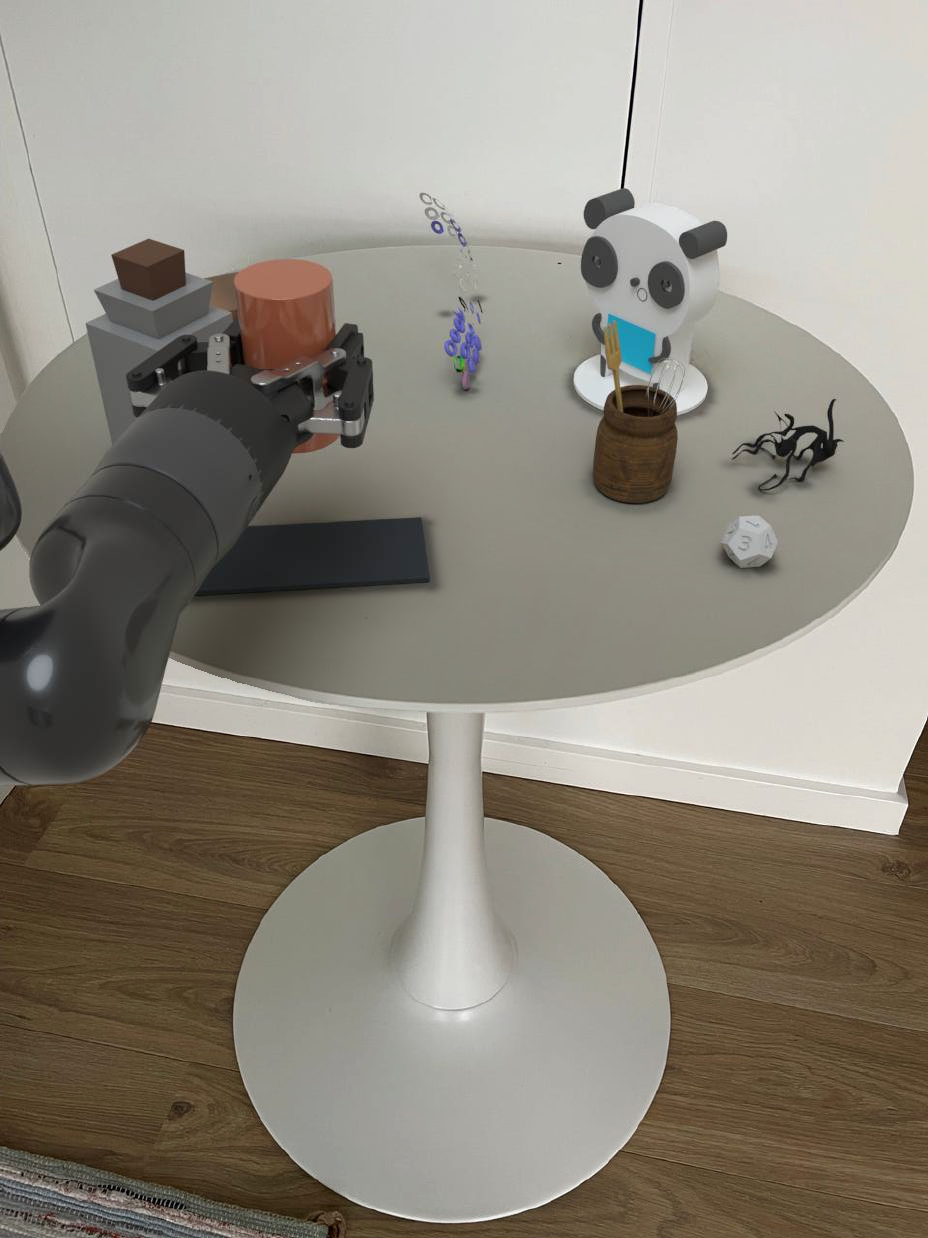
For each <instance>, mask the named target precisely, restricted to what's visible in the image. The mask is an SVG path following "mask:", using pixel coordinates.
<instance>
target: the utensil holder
mask: <svg viewBox="0 0 928 1238" xmlns="http://www.w3.org/2000/svg"><path fill="white" fill-rule="evenodd" d="M603 330H604V340H605V350H606V360H607V367H608V369H610V370H612V371H613V376H614V384H615V390H613V391H612V392H611V393H610V394H609V395H608V396H607V399H606V402H605V405H604V411H603V410H602V411H603V416H602V418H601V419H600V421H599V423H598V425H597V431H596V435H595V444H594V454H593V461H592V462H593V463H592V477H593V479H592V480H593V483H594V485H595V487H596V488H597V490H598V491H599V492H600V493H601V494H603V495H604V496H606V497H608V498H610V499H611V500H614V501H617V502H622V503H628V504H644V503H650V502H652V501H655V500H657V499H659V498H661V497H662V496H664V495H665V494H666V492H667V491H668V490H669V488H670V486H671V482H672V479H673V473H674V468H675V461H676V456H677V455H676V454H677V450H678V449H677V447H678V439H679V438H678V437H679V436H678V435H679V434H678V428H677V425H676V421H677V418H678V416H677V405H676V400H674V398H675V397H676V396H675V397H674V398H673V397H672V396H671V395H670V393H669V394H668V391H669V389H670V387H669V389H668V391H667V392H665V391H663V390H661V389H658V387H659V385H657V388H655V387H651V386H649V385H648V386H645V385H629V386H623V387H620V381H619V373H618V368H619V366H620V364H621V361H622V358H621V350H620V344H619V337H618V330H617V323H616V321H615V320H614V321H613V330H612V324H611V323H609V324H608V330H609V337H608V331H607V327H606V326H605V327H604V329H603ZM613 332H614V337H613ZM609 341H610V344H609ZM614 342H615V344H614ZM669 358H672V357H669ZM669 358H663V359H667V360H668V359H669ZM672 359H673V358H672ZM672 359H670V360H668V361H672V362H673V361H674V366H675V362H676V359H675V360H672ZM661 360H662V359H661ZM661 360H659V361H661ZM667 360H666V361H665V364H666V362H667ZM677 360H678V359H677ZM659 361H658V362H659ZM658 362H657V363H658ZM672 362H671V363H672ZM677 362H679V361H677ZM677 362H676V363H677ZM657 363H656V365H657ZM663 363H664V362H663ZM671 363H670V364H671ZM680 363H681V362H680ZM661 364H662V363H661ZM661 364H660V365H661ZM665 364H664V366H665ZM670 364H669V365H670ZM681 364H682V363H681ZM656 365H655V367H656ZM669 365H668V366H669ZM678 365H679V364H678V363H677V367H678ZM682 365H683V364H682ZM658 366H659V365H658ZM658 366H657V367H658ZM679 366H680V365H679ZM655 367H654V369H655ZM683 367H684V365H683ZM667 368H668V367H667ZM667 368H666V369H667ZM680 368H681V366H680ZM663 369H664V367H663ZM655 370H656V369H655ZM655 370H653V372H652V375H651V378H650V381H651V379H652V376H653V374H654V371H655ZM676 370H677V368H676ZM681 370H682V368H681ZM665 371H666V370H665ZM665 371H664V373H665ZM662 372H663V370H662ZM664 373H663V375H664ZM675 373H676V371H675ZM675 373H674V377H673V378H675ZM661 374H662V373H661ZM682 374H683V371H682ZM684 374H685V368H684ZM663 375H662V377H663ZM660 377H661V375H660ZM662 377H661V379H662ZM683 378H684V376H683ZM650 381H649V384H650ZM659 381H660V382H661V380H660V378H659ZM672 381H673V382H674V380H673V379H672ZM660 382H658V384H660ZM682 383H683V379H682V382H681V385H680V388H679V389H681V386H682ZM671 384H672V386H673V383H672V382H671ZM670 386H671V385H670ZM671 389H672V387H671ZM670 392H671V390H670ZM678 392H680V390H678ZM678 392H677V393H678ZM676 395H677V394H676ZM678 395H679V393H678ZM678 395H677V397H678ZM676 399H677V398H676Z"/></svg>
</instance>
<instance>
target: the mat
mask: <svg viewBox="0 0 928 1238" xmlns="http://www.w3.org/2000/svg"><path fill="white" fill-rule="evenodd" d="M427 557H428V556H427V551H426V543H425V536H424V529H423V521H422V517H421V516H420V517H419V516H418V517H417V516H416V517H400V518H399V517H398V518H381V519H380V518H379V519H362V520H360V519H359V520H342V521H341V520H340V521H323V522H321V521H320V522H303V523H285V524H267V525H265V524H264V525H248V526H247V528H246V529H245V531H244V532H243V534H242V535H241V536H240V538H239V539H238V541H237V542H236V544H235V545H234V546H233V547H232V549H231V550H230V551H229V552H228V553H227V554H226V555H225V556H224V557H223V558H222V559H221V560H220V561H219V562H218V563H217V564H216V565H215V566H214V567H213V568H212V570H211V571H210V573H209V574H208V576H207V577H206V579H205V580H204V582H203V583H202V584H201V586H200V587H199V589H198V590H197V592H196V593H195V595H194V596H207V595H225V594H226V595H227V594H242V593H259V592H261V593H262V592H276V591H279V592H280V591H296V590H311V589H312V590H313V589H314V590H315V589H330V588H344V587H345V588H348V587H365V586H378V585H379V586H382V585H383V586H384V585H399V584H414V583H415V584H417V583H418V584H419V583H430V571H429V566H428V558H427Z"/></svg>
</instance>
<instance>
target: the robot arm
mask: <svg viewBox="0 0 928 1238" xmlns="http://www.w3.org/2000/svg"><path fill="white" fill-rule="evenodd" d="M364 339H365V338H364V333H363V332H359V326H358V324H355V323H347V322H344V323H343V325H342V326H341V327H340V329H339V330H338V332H336V336H335V337H334V339H333V340H332V341H331V342H330V344H329V345H328V346H327V351H325V352H323V353H321V354H319V355H317V356H315V357H313V358H312V359H310V358H308V357H305V356H299V357H297V358H295V359H293V360H291V361H289V362H288V363H286V364H284V365H282V366H280V367H278V368H276V369H258V368H255V367H251V366H247V365H244V359H243V351H242V343H241V335H240V327H239V319H236V320H234V321H233V322H232V323H231V324H230V325H229V326H228V327H227V328H226V330H225V331H224V332H223V333H222V334H214V335H212V336H210V337H209V342H197V338H196V336H194V335H182V336H179V337H177V338H176V339H175V340H173V341H172V342H170V343H169V344H167V345H166V346H165V347H163V348H162V349H160V350H159V351H158V352H156V353H155V354H153V355H152V356H150V357H149V358H148V359H146V360H145V361H143V362H142V363H141V364H139V365H138V366H136V367H135V368H134V369H132V370H131V371H129V372H128V373H127V374H126V379H127V384H128V391H129V396H130V401H131V404H132V409H133V414H134V416H135V417H137V419H136V420H135V421H134V422H133V423H132V424H131V425H130V427H129V428H128V429H127V430H126V431H125V432H124V433H123V434H122V435H121V436H120V437H119V438H118V439H117V441H116V442H115V443H114V444H113V445H112V444H111V446H110V447H109V448H108V449H107V451H106V452H105V453H104V455H103V457H102V458H101V460H100V461H99V463H98V464H97V466H96V468H95V469H94V471H93V473H92V474H91V476H89V478H88V479H87V480H86V481H85V483H83V485H82V486H81V487H80V488H79V489H78V490H77V491H76V492H75V493H74V494H73V495H72V496H71V498H70V499H69V500H68V501H67V502H66V503H65V504H64V505H63V507H62V508H60V510H59V511H58V512H57V513H56V514H55V516H53V518H52V519H51V520H50V521H49V522H48V523H47V524H46V526H45V527H44V529H43V530H42V532H41V533H40V535H39V537H38V538H37V540H36V542H35V544H34V545H33V547H32V550H31V554H30V557H29V562H28V577H29V582H30V587H31V590H32V592H33V595H34V597H35V598H36V600H37V602H38V604H39V605H33V606H22V607H11V608H2V609H1V608H0V787H7V786H8V787H9V786H10V787H12V786H61V785H63V786H64V785H75V784H79V783H84V782H88V781H91V780H94V779H96V778H98V777H101V776H102V775H104V774H106V773H107V772H109V771H110V770H112V769H113V768H115V767H117V765H118V764H120V763H121V762H122V761H123V760H124V759H126V758H127V756H129V755H130V754H131V753H132V752H133V751H134V750H135V749H136V747H137V746H139V744H140V743H141V741H142V740H143V738H144V737H145V736H146V734H147V732H148V731H149V728H150V726H151V724H152V722H153V719H154V715H155V713H156V709H157V705H158V701H159V698H160V693H161V690H162V686H163V682H164V677H165V673H166V669H167V666H168V662H169V658H170V655H171V652H172V648H173V644H174V639H175V636H176V631H177V627H178V624H179V619H180V617H181V614H183V611H184V610H185V609H186V607H188V604H189V603H190V602H191V601H192V599H193V598H194V596H196V595H195V593H196V592H197V590H198V589H199V587H200V586H201V584H202V583H203V582H204V580H205V579H206V577H207V576H208V574H209V573H210V571H211V570H212V568H213V567H214V566H215V565H216V564H217V563H218V562H219V561H220V560H221V559H222V558H223V557H224V556H225V555H226V554H227V553H228V552H229V551H230V550H231V549H232V547H233V546H234V545H235V544H236V542H237V541H238V539H239V538H240V536H241V535H242V534H243V532H244V531H245V529H246V528H247V526H250V523H251V522H252V521H253V519H254V518H255V517H256V515H257V513H258V512H259V509H261V507H262V505H263V504H264V503H265V501H266V500H267V498H269V496H270V494H271V492H272V491H273V490H274V488H275V487H276V485H277V483H278V482H279V481H280V480H281V478H282V476H283V475H284V473H285V472H286V469H287V467H288V464H289V462H290V460H291V457H292V455H293V454H292V452H293V450H294V449H295V448H296V447H297V446H299V445H301V444H303V443H305V442H307V441H308V440H310V439H311V438H312V436H313V435H314V433H321V434H340V436H339V438H340V445H341V446H342V447H344V448H346V449H356V448H360V447H361V446H362V445H363V443H364V440H365V435H366V431H367V429H368V424H369V420H370V416H371V412H372V409H373V405H374V401H375V393H374V392H375V391H374V371H373V369H374V367H373V360H372V358H370V357H365V343H364V342H365V341H364ZM179 361H180V365H181V369H180V370H178V363H179ZM325 373H326V375H327V382H326V383H324V384H323V381H322V378H323V375H324V374H325ZM298 381H299V383H298ZM332 401H333V402H332ZM330 402H331V403H330ZM328 403H329V404H328ZM327 404H328V405H327ZM326 405H327V407H326ZM22 509H23V507H22V502H21V497H20V495H19V491H18V489H17V486H16V483H15V481H14V478H13V476H12V473H11V471H10V468H9V467H8V464H7V462H6V460H5V458H4V455H3V454H2V452H1V451H0V552H1V551H2V550H3V549H5V548H6V547H7V546H8V545H9V544H10V543H11V542H12V540H13V539H14V538H15V536H16V535H17V533H18V531H19V529H20V526H21V523H22V517H23V516H22V515H23V510H22Z"/></svg>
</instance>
